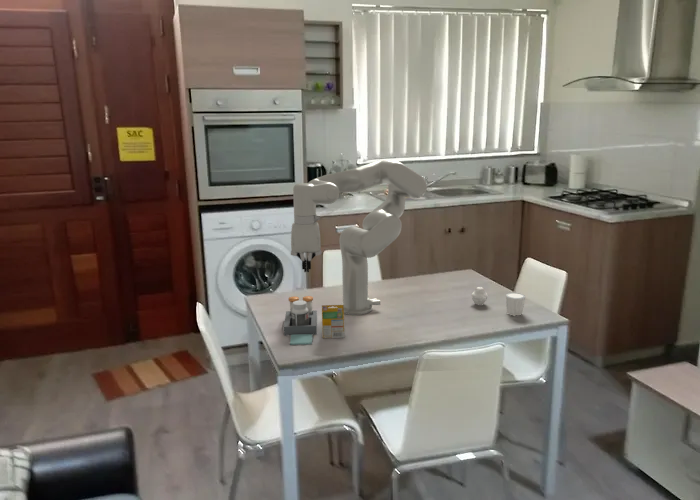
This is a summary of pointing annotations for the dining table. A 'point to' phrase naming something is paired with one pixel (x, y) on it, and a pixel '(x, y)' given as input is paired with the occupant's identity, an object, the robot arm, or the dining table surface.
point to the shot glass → (515, 303)
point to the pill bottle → (300, 313)
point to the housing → (300, 329)
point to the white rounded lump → (479, 296)
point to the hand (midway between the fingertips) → (306, 271)
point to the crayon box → (333, 321)
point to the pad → (301, 339)
